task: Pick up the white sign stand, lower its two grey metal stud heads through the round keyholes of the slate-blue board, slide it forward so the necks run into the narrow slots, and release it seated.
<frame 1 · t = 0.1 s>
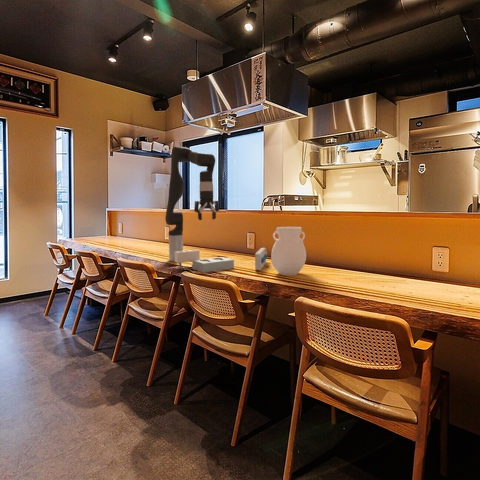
hand: (207, 219, 192), 29 cm above the bar counter, fingers open, 8 cm apart
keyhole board: (213, 268, 202), on the bar counter
decorative sign: (262, 266, 209), on the bar counter
white vase: (288, 273, 185), on the bar counter
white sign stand: (187, 267, 206), on the bar counter
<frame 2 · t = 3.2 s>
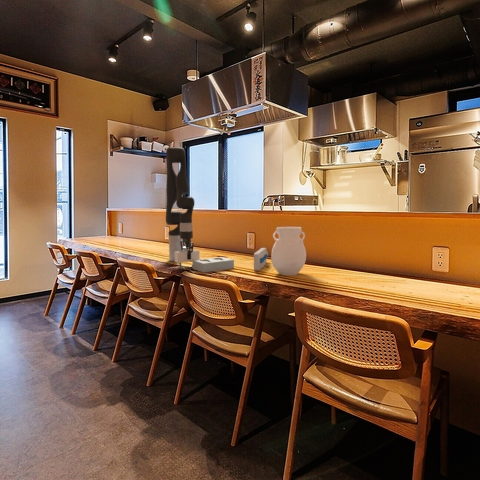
hand: (187, 258, 206), 5 cm above the bar counter, fingers closed on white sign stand, 5 cm apart
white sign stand: (187, 267, 206), on the bar counter, touching gripper
everything else where it was.
when the fingers open (7 cm above the bar counter, at t = 9.6 s): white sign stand stays where it is, resting on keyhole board.
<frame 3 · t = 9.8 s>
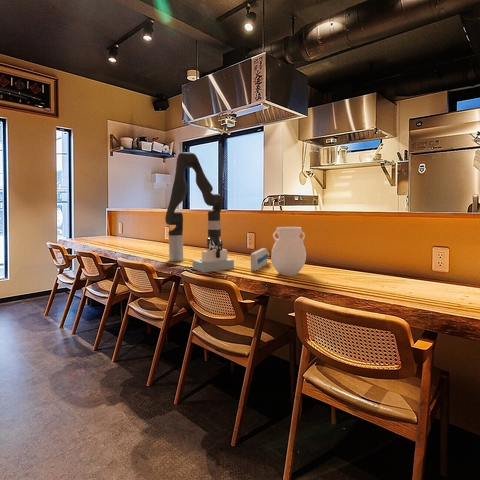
hand: (214, 256, 200), 7 cm above the bar counter, fingers open, 6 cm apart
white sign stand: (214, 267, 200), point 1 cm above the bar counter, touching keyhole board
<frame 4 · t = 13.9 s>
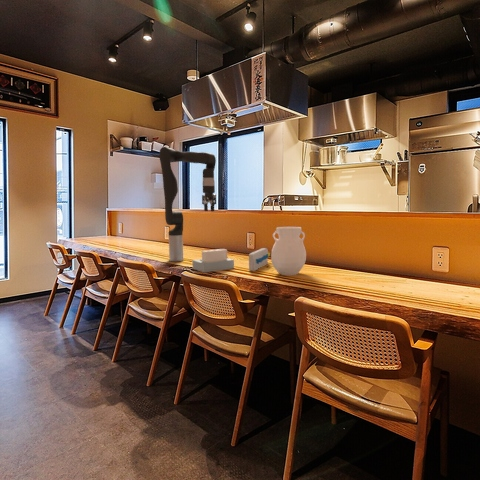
hand: (209, 211, 218), 33 cm above the bar counter, fingers open, 8 cm apart
at the end: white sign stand 0.5 cm from the target spot on the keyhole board, point 1.0 cm above the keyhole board's base; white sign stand tilted 0°; the gripper is holding nothing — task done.
